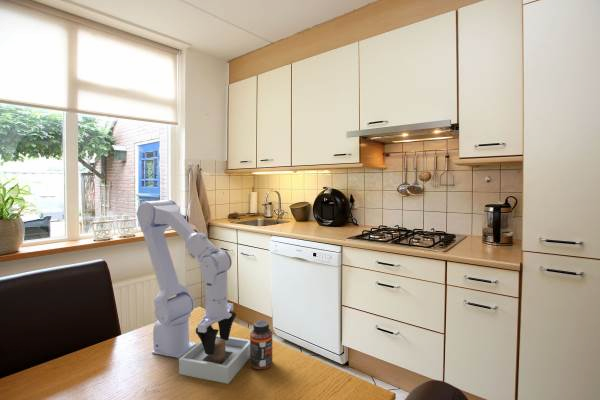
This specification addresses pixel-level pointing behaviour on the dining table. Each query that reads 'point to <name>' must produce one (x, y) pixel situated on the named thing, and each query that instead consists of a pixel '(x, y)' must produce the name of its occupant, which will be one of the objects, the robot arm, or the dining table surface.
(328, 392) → the dining table surface
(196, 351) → the bore box
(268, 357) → the supplement bottle
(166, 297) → the robot arm
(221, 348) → the peg
